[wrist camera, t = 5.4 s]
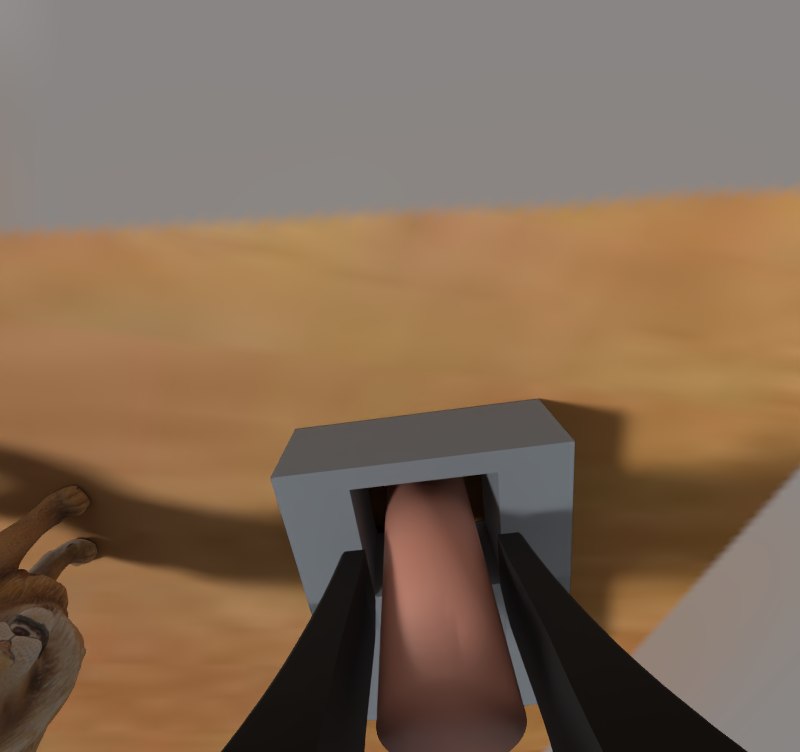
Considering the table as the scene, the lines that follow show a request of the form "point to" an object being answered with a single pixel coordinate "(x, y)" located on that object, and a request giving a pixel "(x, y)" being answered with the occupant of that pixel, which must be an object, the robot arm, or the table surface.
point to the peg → (441, 630)
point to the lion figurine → (38, 623)
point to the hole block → (422, 461)
